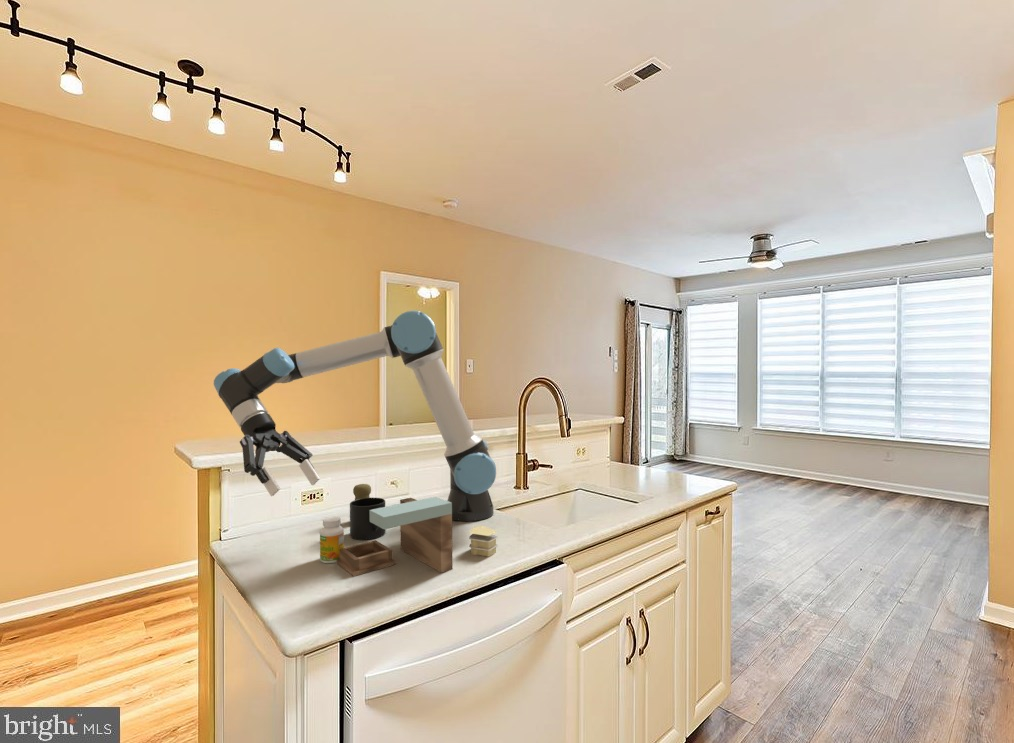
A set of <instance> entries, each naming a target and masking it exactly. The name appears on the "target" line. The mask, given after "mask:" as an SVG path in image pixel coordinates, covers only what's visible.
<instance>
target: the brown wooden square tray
mask: <svg viewBox="0 0 1014 743" xmlns="http://www.w3.org/2000/svg"><path fill="white" fill-rule="evenodd" d="M393 558H394V556H393V549H391V548H390V547H388V546H386V545H384V544H382V543H381V542H380V541H378V540H376V539H375V540H374V539H373V540H371V541H367V542H362V543H359V544H355V545H350V546H346V547H344V548H342V549H340V559H337V562H336V563H337V565H339V566H340V567H341V568H343V570H345V571H346V572H348V573H349V574H350V575H351V576H352V577H356V576H360V575H363V574H367V573H370V572H374V571H378V570H380V569H385V568H388V567H390V566H392V567H393V566H395V565H396V562H397V561H396V560H395V559H393Z"/></svg>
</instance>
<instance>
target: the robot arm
mask: <svg viewBox="0 0 1014 743" xmlns="http://www.w3.org/2000/svg"><path fill="white" fill-rule="evenodd" d="M444 351H445V350H444V348H443V344H442V343H441V340H440V338H439V336H438V333H437V329H436V325H435V323H434V321H433V319H432V318H431V317H430V316H429V315H428V314H426V313H425V312H422V311H419V310H408V311H404V312H402V313H401V314H400V315H398V316H397V317H396V318H395V319H394V321H393V323H392V325H389V326H388V325H387V326H385V327H383V328H382V330H381V331H379V332H374V333H370V334H367V335H363V336H358V337H354V338H351V339H347V340H343V341H339V342H335V343H331V344H328V345H323V346H320V347H315V348H310V349H308V350H303V351H300V352H295V353H292V354H290V353H289V354H288V353H287V352H285V351H284V350H283V349H281V348H280V347H273V348H272V349H271V350H270V351H267V352H265V353H264V354H263V355H262V356H261V357H259V358H258V359H256V360H255V361H253V362H252V363H251V364H250V365H248V366H246V367H245V368H243V369H242V370H241V369H239V368H234V367H233V368H227V370H225V371H224V370H223V371H221V372H220V373H218V374H217V375H216V376H215V378H214V379H213V386H214V389H215V390H216V392H217V394H218V397H219V399H221V401H222V402H223V404H224V405H225V407H226V408H227V410H228V412H229V413H230V414H231V415H230V416H232V418H233V419H234V421H235V422H236V423H237V426H238V427H239V428H240V430H241V432H242V434H243V435H244V436H243V437H242V438H241V440H240V441H239V444H240V446H241V448H242V458H243V470H244V472H245V473H246V474H250V476H253V477H254V476H256V477H257V479H258V480H259V483H261V484H262V485H263V486H264V487H265V489H266V490H267V492H268V493H269V495H270V496H271V497H274V496H275V495H276V494H277V493H278V492H279V491H280V490H281V487H280V485H279V484H278V482H277V481H276V479H275V478H274V476H273V474H272V473H271V471H270V470H269V468H268V466H264V462H265V458H266V453H269V452H277V453H282V454H283V455H286V456H287V457H288V458H290V459H292V460H294V461H295V462H297V463H299V465H298V467H299V468H300V470H301V472H302V473H303V474H304V476H305V477H306V479H307V480H308V481H309V483H310V485H311V486H315V485H316V483H317V482H319V481H320V480H321V477H320V476H319V475H318V473H317V472H316V470H315V467H314V466H313V464H312V462H311V461H310V458H311V459H312V457H313V453H312V452H310V451H309V450H308V449H307V448H306V447H304V445H302V444H301V443H300V442H299V441H298V440H296V439H295V438H294V437H293V436H292V435H291V434H290V433H289V432H288V431H287V430H284V431H282V433H279V432H278V431H277V430H276V427H277V426H276V425H277V424H276V422H275V421H274V419H273V417H272V416H271V414H269V411H268V409H267V408H266V407H265V405H264V403H263V402H262V401H261V399H260V397H259V395H260V394H262V393H263V392H264V391H266V390H267V389H269V388H270V387H272V386H273V385H275V384H287V383H291V382H293V381H297V380H300V379H303V378H306V377H311V376H315V375H318V374H319V375H320V374H322V373H327V372H330V371H334V370H335V371H336V370H338V369H341V368H342V369H343V368H346V367H350V366H353V365H357V364H358V365H359V364H361V363H365V362H369V361H373V360H376V359H381V358H384V357H390V358H392V359H394V358H395V359H396V358H398V357H401V360H402V362H403V365H404V366H405V367H407V368H408V369H411V370H412V372H413V374H414V375H415V378H416V380H417V383H418V385H419V387H420V389H421V392H422V394H423V396H424V398H425V401H426V402H427V405H428V408H429V409H430V412H431V414H432V416H433V418H434V421H435V425H436V426H437V428H438V430H439V433H440V435H441V437H442V439H443V442H444V444H445V447H446V450H445V452H444V457H445V460H446V463H447V464H448V467H449V471H450V472H449V474H450V478H449V480H450V484H449V486H450V487H449V488H450V490H449V494H448V498H447V500H446V501H449V502H451V503H452V521H457V522H459V521H460V522H474V521H481V520H485V519H488V518H491V517H492V516H493V515H494V513H495V512H494V505H493V502H492V498H491V495H490V492H489V489H490V488H491V487H492V485H493V484H494V483H495V481H496V477H497V465H496V464H495V461H494V460H493V459H492V458H491V456H490V454H489V451H488V449H489V447H488V443H487V441H486V440H483V438H482V437H481V436H478V435H476V434H475V432H474V430H473V427H472V424H471V423H470V421H469V418H468V417H467V413H466V411H465V409H464V407H463V404H462V402H461V400H460V398H459V395H458V394H457V391H456V389H455V387H454V384H453V382H452V379H451V377H450V374H449V372H448V369H447V368H446V366H445V363H444V361H443V358H442V355H443V353H444ZM254 446H255V448H254Z"/></svg>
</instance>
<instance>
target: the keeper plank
mask: <svg viewBox="0 0 1014 743" xmlns="http://www.w3.org/2000/svg"><path fill="white" fill-rule="evenodd" d="M416 500H417V501H412V502H407V503H402V504H400V503H398V504H393V505H388V506H385V507H382V508H377V509H372V510H370V522H371V523H373V524H375V525H377V526H379V527H380V528H382V529H386V530H387V529H391V528H392V529H393V528H397V527H400V526H401V525H406V524H410V523H414V522H418V521H423V520H427V519H431V518H436V517H440V516H444V515H448V514H452V503H451V502H449V501H447V500H445V499H442V498H439V497H437V496H433V497H427V498H423V499H416Z"/></svg>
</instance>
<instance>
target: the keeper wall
mask: <svg viewBox="0 0 1014 743" xmlns="http://www.w3.org/2000/svg"><path fill="white" fill-rule="evenodd" d="M417 500H418V499H415V498H413V497H409V498H408V497H407V498H403V499H400V500H399V504H402V503H407V502H412V501H417ZM399 528H400V550H401V551H403V552H404V553H406V554H408V555H410V556H411V557H414V558H415V559H417V560H419V561H421V562H422V563H424V564H425V565H427V566H429V567H431V568H432V569H434V570H436V571H438V572H439V573H444V572H447V571H450V570H453V567H454V566H453V520H452V514H448V515H444V516H440V517H436V518H431V519H427V520H423V521H418V522H414V523H410V524H406V525H401V526H399Z"/></svg>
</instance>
